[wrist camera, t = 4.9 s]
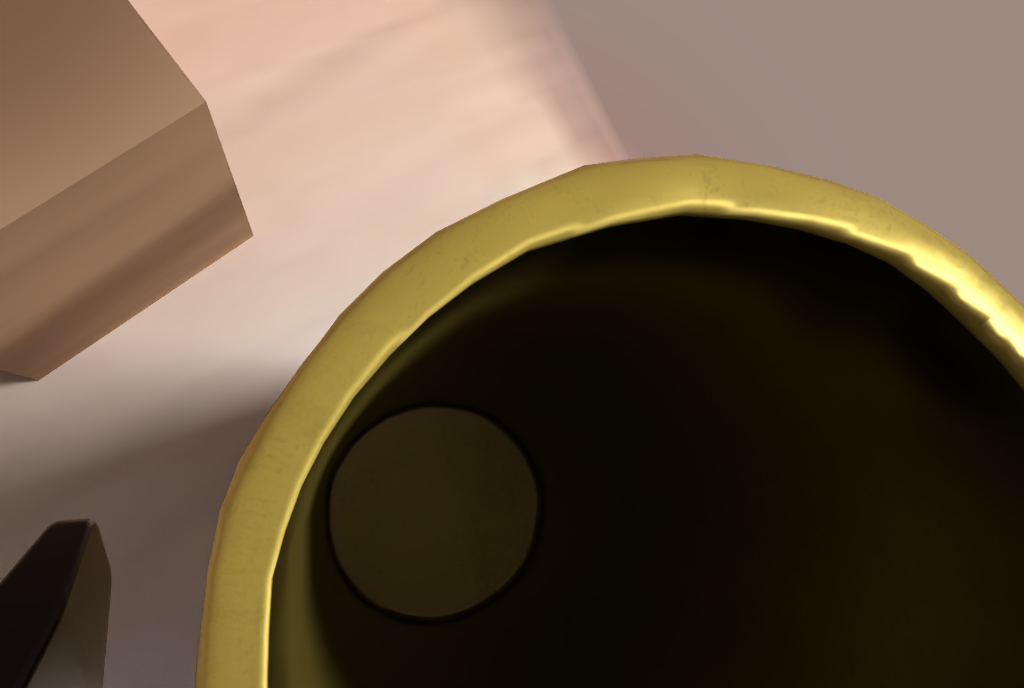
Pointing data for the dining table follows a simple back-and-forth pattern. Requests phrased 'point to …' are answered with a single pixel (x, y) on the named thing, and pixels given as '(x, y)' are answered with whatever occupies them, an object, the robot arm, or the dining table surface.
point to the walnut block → (99, 178)
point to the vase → (642, 454)
